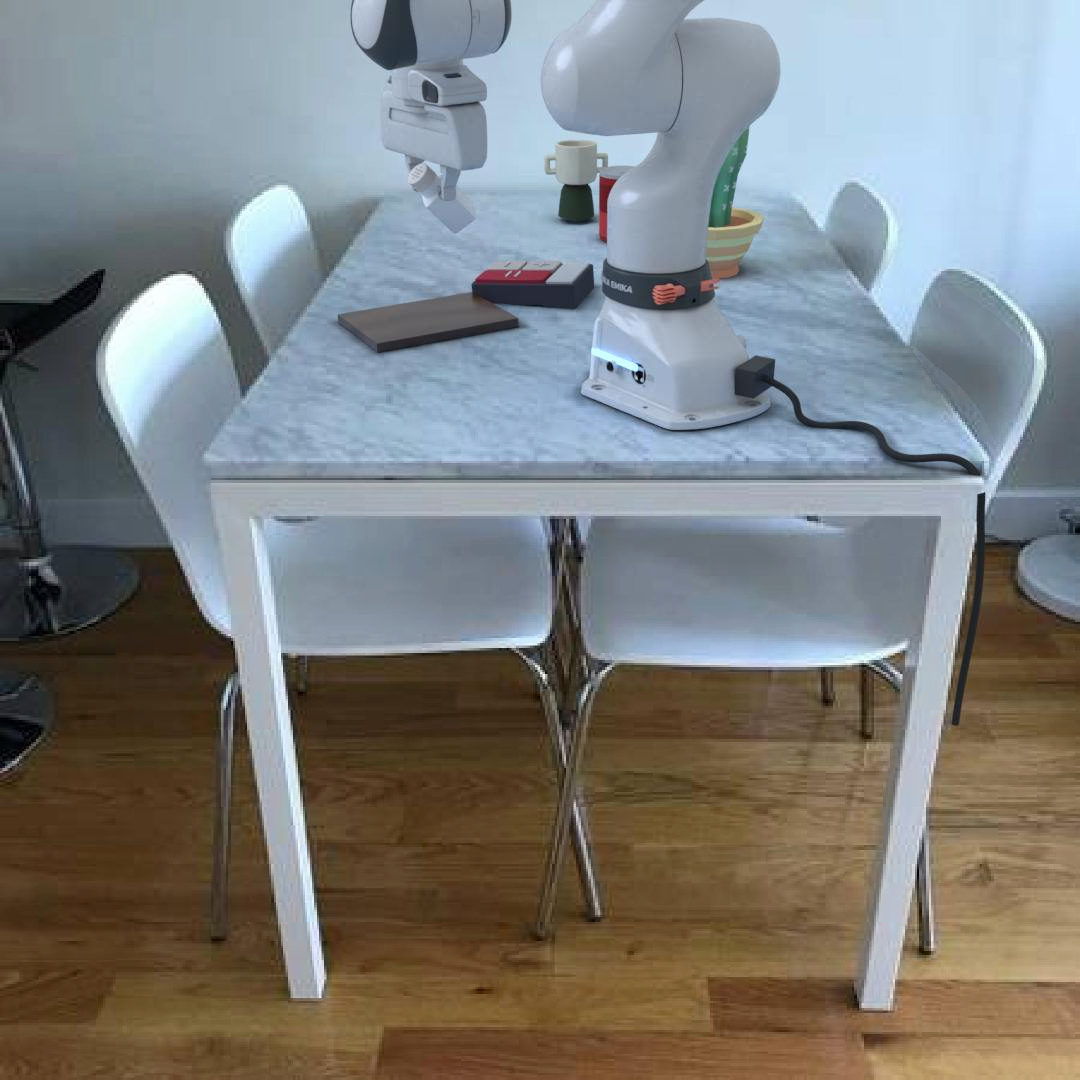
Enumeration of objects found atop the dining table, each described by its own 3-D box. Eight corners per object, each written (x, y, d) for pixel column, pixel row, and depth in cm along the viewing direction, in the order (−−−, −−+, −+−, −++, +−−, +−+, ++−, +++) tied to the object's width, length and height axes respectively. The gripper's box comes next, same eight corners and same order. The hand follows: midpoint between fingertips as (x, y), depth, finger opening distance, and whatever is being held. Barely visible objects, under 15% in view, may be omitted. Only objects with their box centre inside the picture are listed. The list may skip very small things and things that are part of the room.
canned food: (610, 246, 198) (611, 177, 193) (591, 235, 204) (591, 167, 199) (653, 241, 200) (655, 172, 195) (632, 230, 207) (634, 163, 202)
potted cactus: (754, 256, 191) (765, 87, 180) (767, 284, 178) (780, 103, 166) (654, 257, 192) (659, 88, 180) (660, 285, 178) (665, 104, 167)
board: (518, 326, 162) (518, 318, 162) (377, 352, 154) (376, 343, 153) (472, 300, 173) (472, 291, 173) (338, 322, 165) (337, 314, 164)
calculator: (494, 258, 180) (593, 258, 176) (497, 286, 182) (595, 287, 178) (469, 278, 171) (573, 279, 167) (472, 308, 173) (575, 310, 169)
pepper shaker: (478, 219, 159) (430, 173, 152) (455, 237, 160) (406, 191, 154) (474, 200, 161) (427, 154, 155) (451, 218, 163) (403, 173, 156)
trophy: (604, 214, 218) (605, 138, 211) (610, 224, 211) (611, 145, 205) (543, 216, 217) (542, 140, 211) (546, 226, 211) (545, 147, 204)
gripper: (364, 74, 156) (372, 185, 163) (449, 92, 141) (455, 213, 148) (407, 70, 159) (413, 179, 166) (495, 87, 145) (498, 205, 151)
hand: (434, 195), depth 157 cm, fingers closed on pepper shaker, 5 cm apart
